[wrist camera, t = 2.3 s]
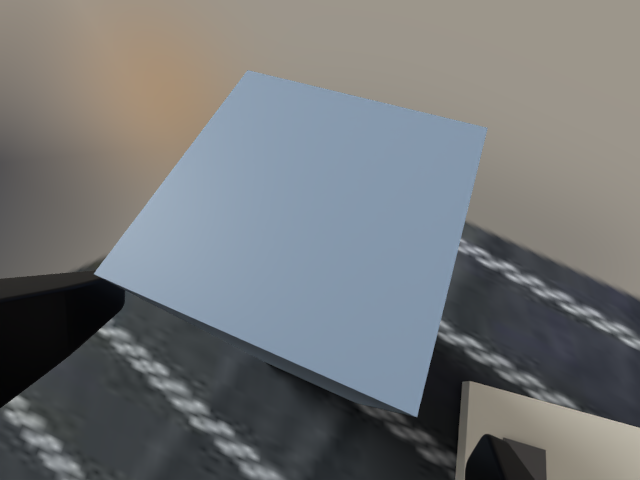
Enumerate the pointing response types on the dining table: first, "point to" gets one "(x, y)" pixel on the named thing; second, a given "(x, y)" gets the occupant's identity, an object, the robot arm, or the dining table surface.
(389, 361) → the slate post
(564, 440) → the letter card
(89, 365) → the dining table surface
